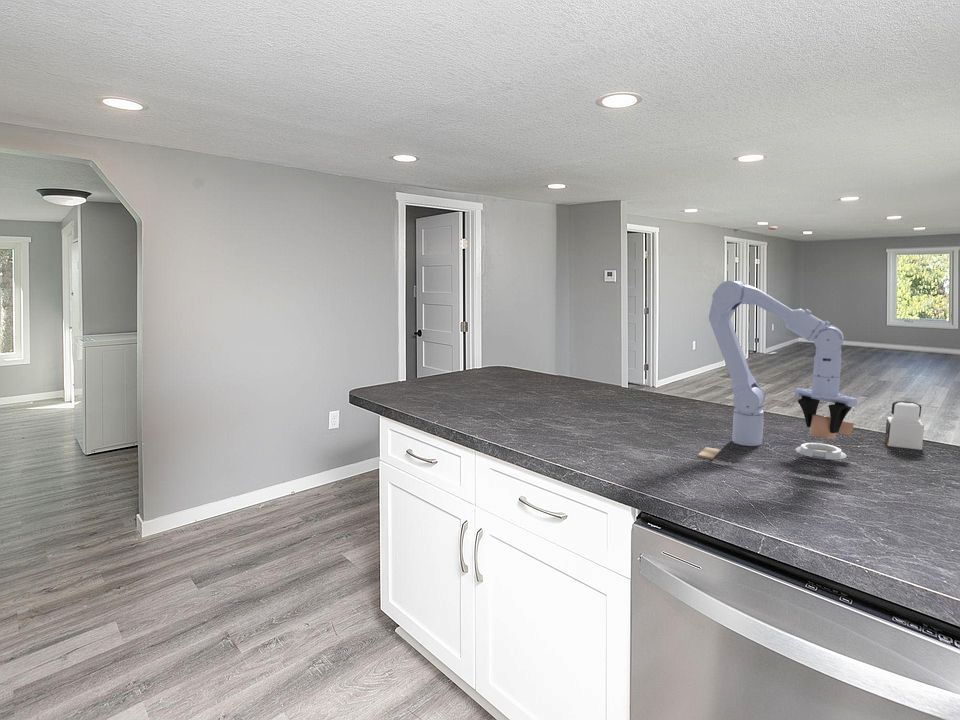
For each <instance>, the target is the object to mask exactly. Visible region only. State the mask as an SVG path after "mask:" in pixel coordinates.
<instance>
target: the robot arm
mask: <svg viewBox="0 0 960 720" xmlns="http://www.w3.org/2000/svg"><path fill="white" fill-rule="evenodd" d="M740 305H755V306H757V307H759V308H761V309H763V310H764V311H766V312H768V313H770V314H771V315H774V316H775V317H777V318H779V319H780V320H783V321H784V325H785V328H786V329H788V330H790V331H791V332H793V333H795V334H796V335H798V336H799V337H801V338H803V339H805V340H806V341H807V342H813V344H814V347H815V355H814V356H813V369H812V370H813V371H812V381H811V382H812V384H811V388H810V389H809V388H803V387H802V388H801V387H797V388H795V389H794V390H795V391H794V397H799V399H797V403H798V405H799V406H800V408H801V410H802V412H803V415H804V420H805V425H806V427H807V428H810V426H811V420H812V414H816V415H817V412H818V407H819V403H820V401H823V402H828V403H831V404H828V410H829V415H830V417H831V423H830V433H836V434H839V433H838V432H839V429H840V426H841V424H842V422H843V421H844V420H845V417H846V416H847V415H848V413H849V412H850V411H851V410H852V409H853V407H857V403H858V398H857V397H853V396H848V395H846V394H842V393H839V392H840V384H841V383H840V382H841V369H842V345H843V343H844V338H845V337H844V333H843V332H842V330H841V329H839V328H838V327H837V326H836V325H830V324H831V323H830V321H828V320H823V319H820V318H818V317H817V316H815V315H814V314H812V310H809V309H808V308H806V309H805V310H804V309H802V308H797V309H792V308H790V307H789V306H787V305H785V304H783V303H782V302H781V301H779V300H777V299H775V298H774V297H773V296H771V295H769V294H768V293H766V292H764V291H763V290H761V289H759V288H757V287H755V286H752V285H749V284H746V283H745V282H743V281H742V280H725V281H723V282H721V283H720V284H719V285H718V286H716V289H715V290H714V292H713V293H712V300H711V304H710V310H709V314H708V321H709V323H710V326H711V328H712V332H713V334H714V336H715V339H716V342H717V345H718V348H719V350H720V352H721V355H722V358H723V360H724V363H725V367H726V369H727V372H728V374H729V376H730V379H731V390H732V393H733V399H732V402H733V403H732V404H733V407H734V408H733V416H732V417H733V419H732V435H731V437H732V438H731V442H733V444H737V445H741V446H749V447H755V446H761V445H762V443H763V438H764V437H763V435H764V433H763V432H764V420H765V419H764V414H765V413H764V410H763V409H762V407H761V406H762V405H763V404H764V402H765V400H766V393H765V392H764V390H763V388H761V387H760V386H759V385H758V382H757V381H756V379H755V376H753V374H752V373H751V370H750V368H749V364H748V362H747V359H746V356H745V355H744V352H743V349H742V346H741V343H740V341H739V338H738V336H737V334H736V330H735V328H734V325H733V322H732V320H731V319H732V316H733V315H734V313H735V312H736V309H738V307H740Z"/></svg>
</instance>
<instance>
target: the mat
mask: <svg viewBox="0 0 960 720" xmlns="http://www.w3.org/2000/svg"><path fill="white" fill-rule="evenodd" d="M721 450H722V448H721V449H720V448H716V447H715V448H714V447H713V448H712V447H708V446H705V448H703V449H702V450H701V451H700V452H699V453H698V454H697V458H703V459H707V460H708V459H709V460H716V461H719V459H717V458H715V457H716V456H717V455H718V454H719V453H720V452H721ZM721 461H722V462H725V460H724V459H723V460H722V459H720V462H721ZM726 462H727V463H731V461H729V460H726Z"/></svg>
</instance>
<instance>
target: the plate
mask: <svg viewBox="0 0 960 720" xmlns="http://www.w3.org/2000/svg"><path fill="white" fill-rule="evenodd" d="M795 451H796V453H799V454H800V455H802V456H807V457H810V458H814V459H815V458H816V459H821V460H842V459H846V458H847V454H846V453H845V452H843V451H842V449H841V448H840V447H837V446H835V445H832V444H828V443H821V442H805V443H802V444H800V446H797V447H796V448H795Z"/></svg>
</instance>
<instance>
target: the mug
mask: <svg viewBox="0 0 960 720" xmlns="http://www.w3.org/2000/svg"><path fill="white" fill-rule="evenodd" d="M830 423H831V417H830V416H829V415H824V414H817V413H816V414H812V420H811V426H810V427H809V433H808V434H809V435H810V436H811V437H816V438H819V439H820V438H821V439H828V440H836V434H841V435H847V436H853V429H854V424H855V423H854V422H851V421H844V420H843V422H842V424H841V426H840V429H839V432H838V433H830Z"/></svg>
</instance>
